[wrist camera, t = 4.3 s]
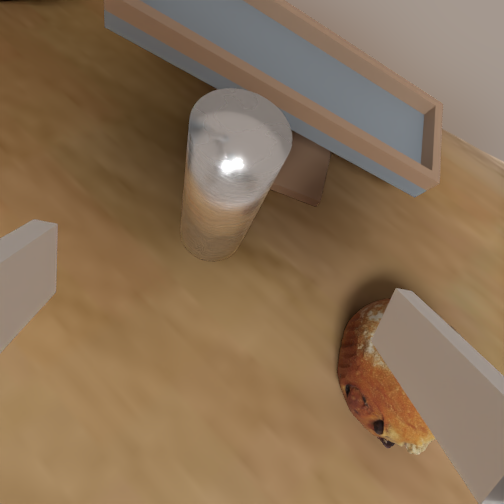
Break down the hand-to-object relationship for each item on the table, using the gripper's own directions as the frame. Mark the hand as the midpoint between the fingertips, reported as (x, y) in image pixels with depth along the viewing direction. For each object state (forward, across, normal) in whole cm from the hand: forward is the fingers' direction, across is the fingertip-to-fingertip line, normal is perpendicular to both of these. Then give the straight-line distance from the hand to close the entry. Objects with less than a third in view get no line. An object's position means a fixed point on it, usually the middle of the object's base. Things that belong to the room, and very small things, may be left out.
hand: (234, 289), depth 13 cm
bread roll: (+8, +15, -9) cm, 19 cm away
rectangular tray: (+18, +3, +10) cm, 20 cm away
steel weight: (+14, -1, -3) cm, 14 cm away
